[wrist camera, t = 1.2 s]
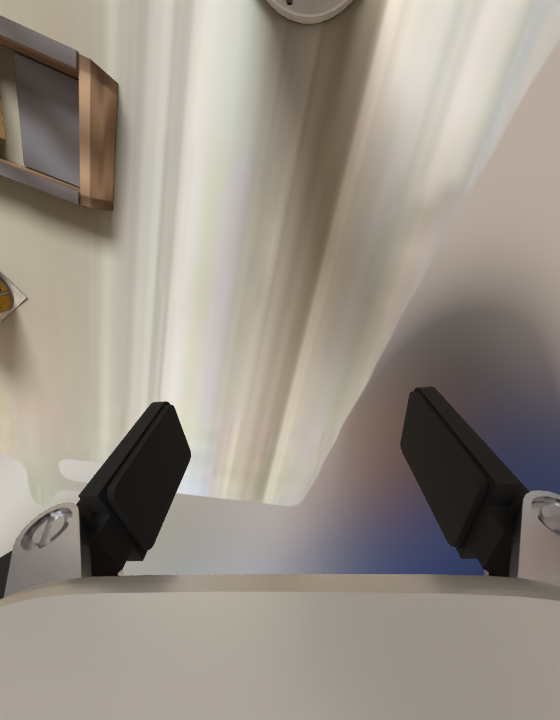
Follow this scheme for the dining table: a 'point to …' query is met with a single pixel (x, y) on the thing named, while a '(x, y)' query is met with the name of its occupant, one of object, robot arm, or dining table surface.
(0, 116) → the block
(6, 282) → the condiment
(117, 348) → the dining table surface
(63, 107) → the box
